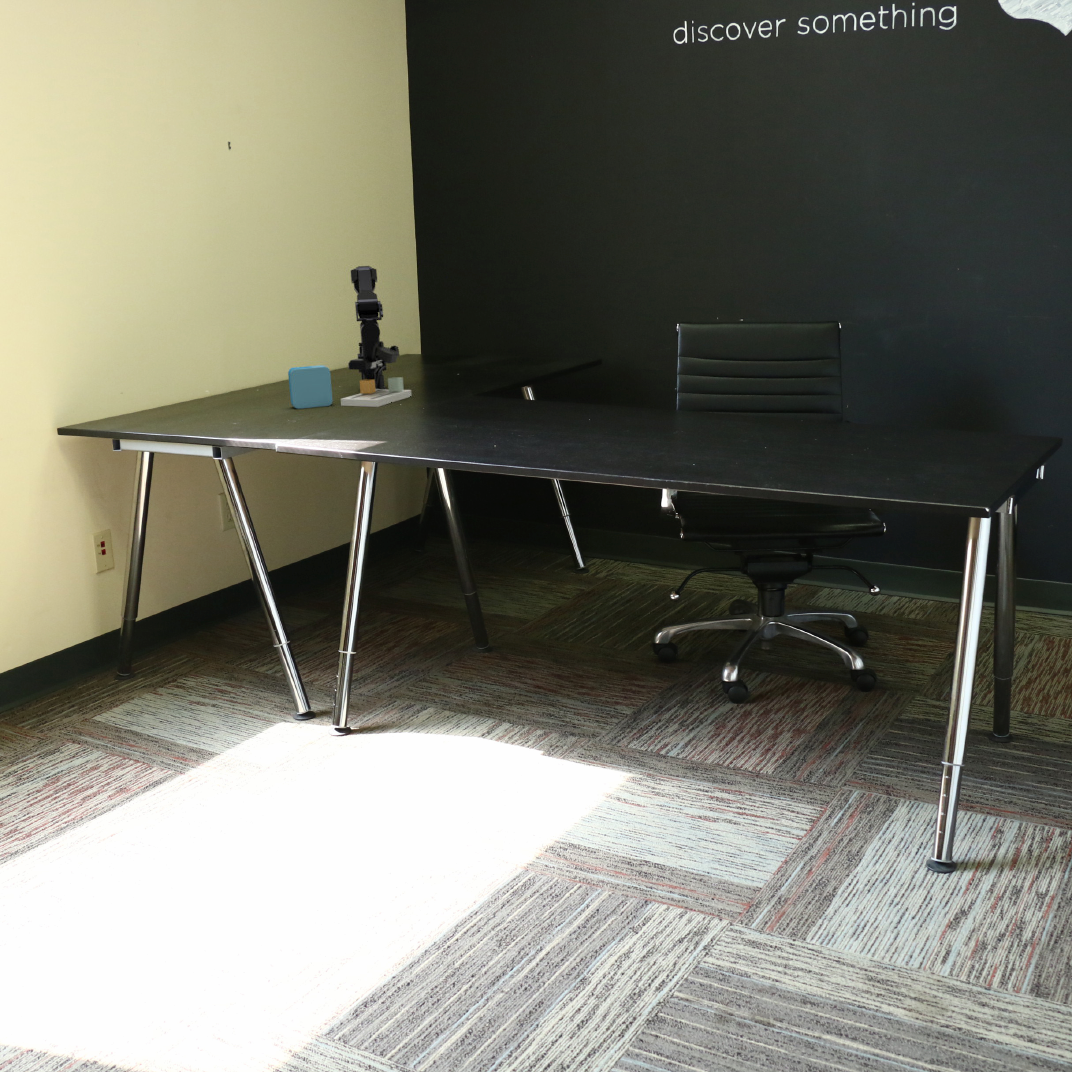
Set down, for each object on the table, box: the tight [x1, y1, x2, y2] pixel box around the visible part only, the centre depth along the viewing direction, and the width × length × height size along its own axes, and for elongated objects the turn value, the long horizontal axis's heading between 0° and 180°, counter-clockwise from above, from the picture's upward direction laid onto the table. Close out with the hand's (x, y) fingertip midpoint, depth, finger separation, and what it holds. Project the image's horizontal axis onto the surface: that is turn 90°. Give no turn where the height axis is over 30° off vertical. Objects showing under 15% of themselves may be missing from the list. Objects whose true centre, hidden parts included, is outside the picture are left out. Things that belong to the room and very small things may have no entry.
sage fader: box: [387, 376, 405, 392], centre depth 365 cm, size 4×3×4 cm
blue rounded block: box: [287, 364, 334, 410], centre depth 356 cm, size 12×4×12 cm, turn 110°
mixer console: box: [340, 388, 412, 408], centre depth 362 cm, size 13×20×2 cm, turn 155°
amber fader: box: [359, 379, 376, 394], centre depth 363 cm, size 4×3×4 cm
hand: (374, 389), depth 367 cm, fingers closed
